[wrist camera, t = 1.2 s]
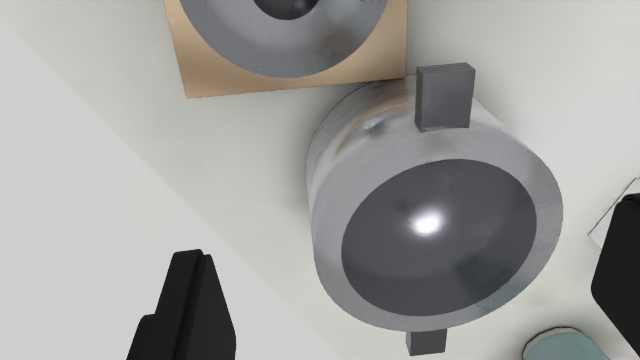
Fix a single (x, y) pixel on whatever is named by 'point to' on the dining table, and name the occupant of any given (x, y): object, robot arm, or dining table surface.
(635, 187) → the milk
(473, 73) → the pot
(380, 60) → the trivet
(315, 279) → the dining table surface
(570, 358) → the disposable coffee cup
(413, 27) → the dining table surface
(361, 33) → the lid
